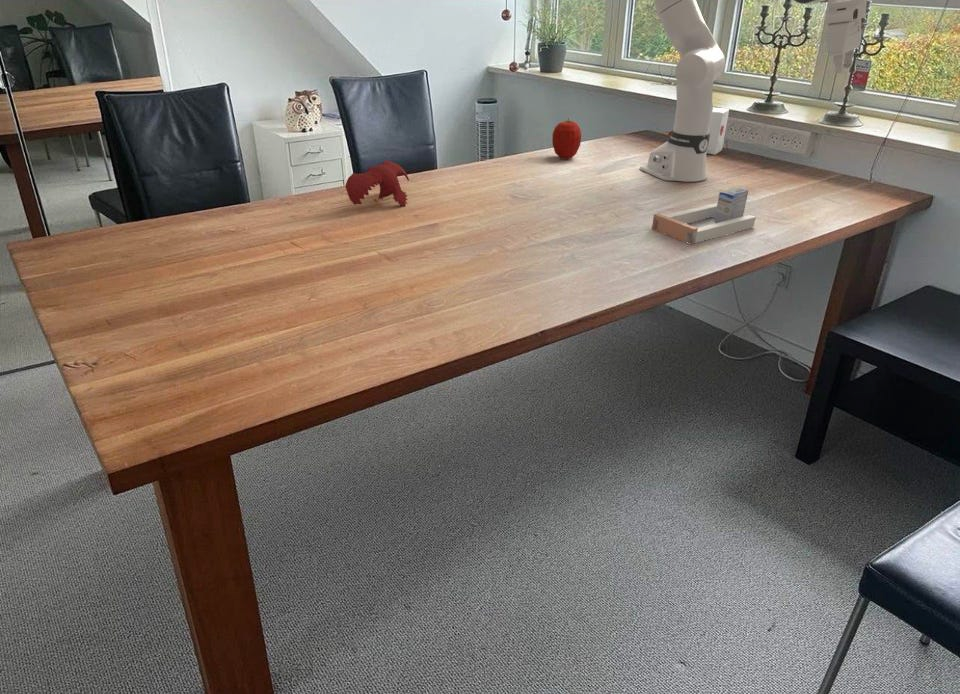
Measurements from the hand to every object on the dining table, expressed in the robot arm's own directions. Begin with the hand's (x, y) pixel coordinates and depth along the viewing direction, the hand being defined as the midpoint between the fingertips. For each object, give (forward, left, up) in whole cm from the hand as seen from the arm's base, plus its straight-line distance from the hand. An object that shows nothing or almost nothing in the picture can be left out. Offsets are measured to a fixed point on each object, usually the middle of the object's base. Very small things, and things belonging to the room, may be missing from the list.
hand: (843, 70), depth 185 cm
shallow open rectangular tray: (-3, -41, -37) cm, 55 cm away
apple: (-79, -26, -37) cm, 92 cm away
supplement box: (-61, +27, -37) cm, 77 cm away
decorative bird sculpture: (-65, -103, -37) cm, 128 cm away
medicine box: (-3, -31, -37) cm, 49 cm away
